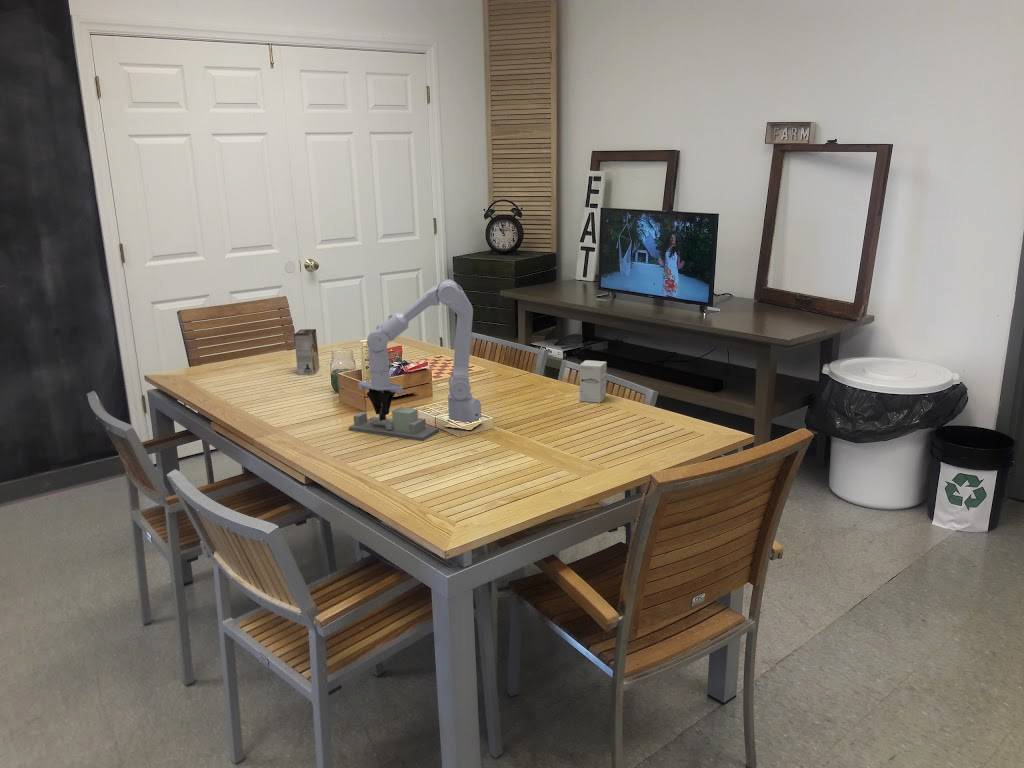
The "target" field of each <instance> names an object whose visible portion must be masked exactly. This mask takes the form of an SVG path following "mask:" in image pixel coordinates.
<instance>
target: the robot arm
mask: <svg viewBox="0 0 1024 768" xmlns="http://www.w3.org/2000/svg"><path fill="white" fill-rule="evenodd" d="M440 303H441V304H443V305H444V306H446V307H448V308H450V309H451V310H452V311H453V312H454V313H455V314H456V315H457V316H456V324H455V325H456V329H455V340H454V341H455V342H454V350H453V351H454V354H453V364H452V365H453V366H452V372H451V375H450V376H449V378H448V386H449V389H448V390H449V391H448V392H449V394H448V396H447V404H448V405H447V406H448V420H449V419H451V420H454V421H461V422H469V423H472V422H474V421H477V420H479V418H481V419H482V405H481V404H482V403H481V401H480V400H479V399H477V398H475V397H473V395H472V393H471V385H470V378H469V368H470V367H469V365H470V356H471V355H470V354H471V343H472V342H471V341H472V329H473V319H474V318H473V317H474V308H473V306H472V304H471V302H470V301H469V298H468V297H467V295H466V293H465V291H464V290H463V288H462V287H461V286H460V285H459V284H458V283H457V282H456V281H454V280H453V279H450V278H448V279H447V278H446V279H443V280H442V281H440V282H439V284H435V285H434V286H432V287H431V288H429V289H428V290H426V292H425V293H423V294H421V296H420V297H419V298H418V299H417V300H415V301H414V302H413V303H412V304H411V305H409V307H408V308H406V309H405V310H404V311H402V312H395V313H393V314H392V313H390V314H389V315H387V319H386V320H384V321H383V322H382V323H381V324H380V325H379V324H377V325H376V326H375V329H373V330H371V331H370V332H369V333H368V336H367V339H366V345H367V347H368V365H369V378H370V381H360V382H358V383H357V384H358V390H368V392H366V396H367V397H368V398H369V400H370V401H371V404H372V406H373V409H374V411H375V414H376V415H379V407H380V406H382V410H383V415H386V416H387V415H389V414H390V409H391V405H392V404H391V403H392V401H393V399H394V398H393V396H394V394H395V393H397V394H401V393H403V386H400V385H396V384H392V383H390V378H391V376H390V375H391V374H390V362H389V361H390V360H389V354H388V343H389V342H392V341H394V340H395V339H397V338H398V337H399V336H400V335H401V334H403V333H404V332H405V331H406V330H408V329H409V324H410V323H409V322H410V321H412V320H413V319H415V318H416V317H417V316H418V315H420V314H421V313H422V312H424V311H425V310H427V308H429V307H431V306H433V307H434V306H440Z"/></svg>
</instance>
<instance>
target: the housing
mask: <svg viewBox="0 0 1024 768" xmlns="http://www.w3.org/2000/svg"><path fill="white" fill-rule="evenodd" d="M391 413H392V414H391V416H392V418H393V430H394V431H401V432H408V433H409V424H410V423H412V422H413V421H415V420H417V419H419V411H418V408H411V407H404V406H399V407H397V408H396V409H394V410H392V411H391ZM392 418H391V419H392Z"/></svg>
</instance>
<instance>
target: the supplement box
mask: <svg viewBox="0 0 1024 768" xmlns="http://www.w3.org/2000/svg"><path fill="white" fill-rule="evenodd" d="M606 390H607V361H603V360H602V361H600V360H590V359H589V360H588V359H586V360H584V361H583V362H581V363H580V364H579V399H578V400H579V402H587V403H596V402H597V403H596V404H601V403H602V402H603V401H604V400H605V399H606V397H605V396H606V395H607V393H606V392H607V391H606ZM604 398H605V399H604ZM603 399H604V400H603ZM602 400H603V401H602ZM601 401H602V402H601ZM600 402H601V403H600Z"/></svg>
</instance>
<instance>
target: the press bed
mask: <svg viewBox="0 0 1024 768" xmlns="http://www.w3.org/2000/svg"><path fill="white" fill-rule="evenodd" d="M426 424H427V423H426V418H421V417H418V419H417V420H415V421H413V422H412V423H410V424H409V433H408V432H401V431H394V430H386V426H383V425H376V424H370V418H368V414H367V412H363V411H361V412H359V413H356V414H355V415H353V424H352V425H350V426H348V431H351V432H352V431H353V432H358V433H359V432H360V433H365V434H373V435H380V436H385V437H386V436H387V437H393V438H399V439H407V440H412V441H413V440H414V441H419V442H420V441H421V442H422V441H423V442H424V441H425V440H427V439H429V438H430V437H432V436H434V435H435V434H437V433H439V427H432V426H426Z"/></svg>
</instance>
